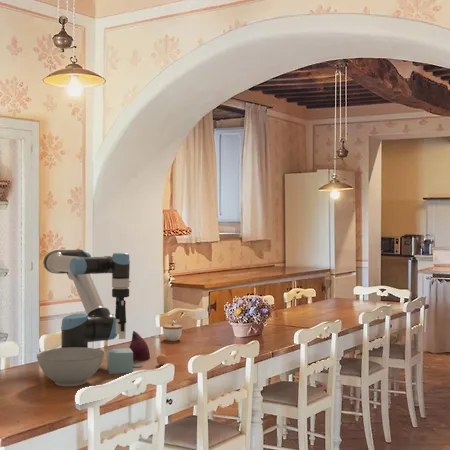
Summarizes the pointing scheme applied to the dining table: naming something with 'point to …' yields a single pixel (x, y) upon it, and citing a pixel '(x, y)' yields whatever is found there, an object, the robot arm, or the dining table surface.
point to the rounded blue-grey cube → (119, 360)
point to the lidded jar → (172, 331)
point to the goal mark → (137, 366)
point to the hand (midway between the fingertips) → (120, 336)
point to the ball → (162, 359)
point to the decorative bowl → (70, 364)
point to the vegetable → (139, 347)
